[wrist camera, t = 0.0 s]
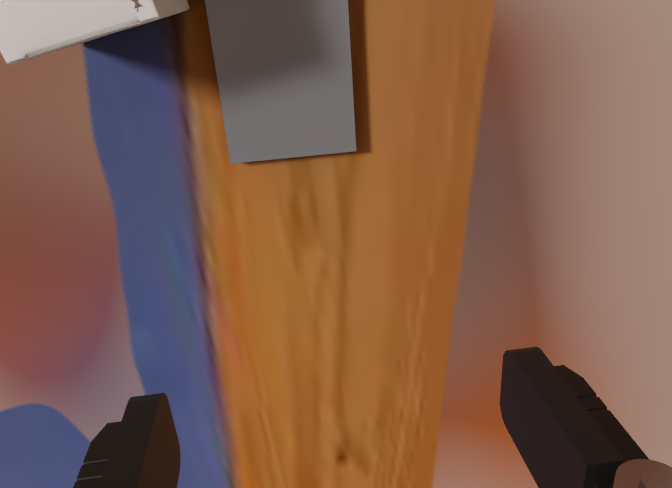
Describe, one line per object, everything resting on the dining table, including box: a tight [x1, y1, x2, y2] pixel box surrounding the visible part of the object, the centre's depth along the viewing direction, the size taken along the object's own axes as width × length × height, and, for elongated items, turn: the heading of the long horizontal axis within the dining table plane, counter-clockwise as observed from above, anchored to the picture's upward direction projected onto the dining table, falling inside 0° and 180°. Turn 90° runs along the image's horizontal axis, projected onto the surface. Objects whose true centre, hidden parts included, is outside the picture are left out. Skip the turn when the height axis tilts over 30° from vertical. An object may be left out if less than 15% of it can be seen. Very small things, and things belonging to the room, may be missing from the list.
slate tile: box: [205, 0, 356, 164], centre depth 37 cm, size 14×9×1 cm, turn 4°
